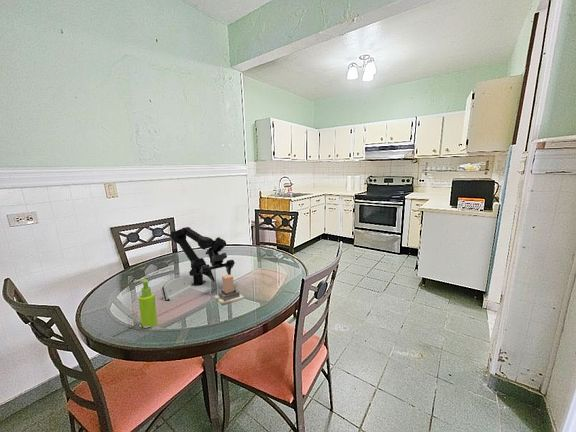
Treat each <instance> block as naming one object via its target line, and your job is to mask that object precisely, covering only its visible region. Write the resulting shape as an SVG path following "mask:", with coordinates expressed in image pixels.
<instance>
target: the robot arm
mask: <svg viewBox="0 0 576 432" xmlns="http://www.w3.org/2000/svg"><path fill="white" fill-rule="evenodd" d="M187 237H188V238H190V239H191V240H193V241H194V242H196V243H197V245H198V247H199V248H200V249H201V250H206V251H205V255H208V258H209V263H210V264H211V265H210V264H208V263H207V262H206V261H205V259H204V257H199V256H198V255H197V254H196V252H195V251H194V249H193V248H192V246H191V244H190V243H189V242H188V240H187ZM170 238H171V240H172V241H173V242H174V243H176V244H178V245H179V247H180V248H181V249H182V251H183V252H184V255H186V257H187V259H188V260H189V262H190V268H191V269H190V270H189V271H188V273H189V276H191V277H192V278H193V279H192V280H193V282H192V283H191V286H202V285H203V284H204V283H205V282H203V281H204V276H206V277H208V278H209V279H210V280H211V281H212V282H213V283H215V282H216V281H215V277H214V275H213V272H212V270H217V269H219V268H220V269H221V268H225V270H226V273H227V275H231V273H232V272H231V271H232V269H233V267H234V265H235V264H236V262H235V260H234V259H228V260H226V262H225V263H224V260H225V259H227V257H228V255H227V252H222V250H223V249H224V248H225V247H226V246H227V242H226V240H224V239H223V238H220V236H217V237H216V238H215V239H212V238H211V237H209V236H205V235H201V234H200V233H198V232H197V231H195V230H193V229H192V228H191V227H189V226H186V227H182V228H179V229H177V230H173V231H171V233H170ZM220 252H222V253H221V254H220ZM203 275H204V276H203Z"/></svg>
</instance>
